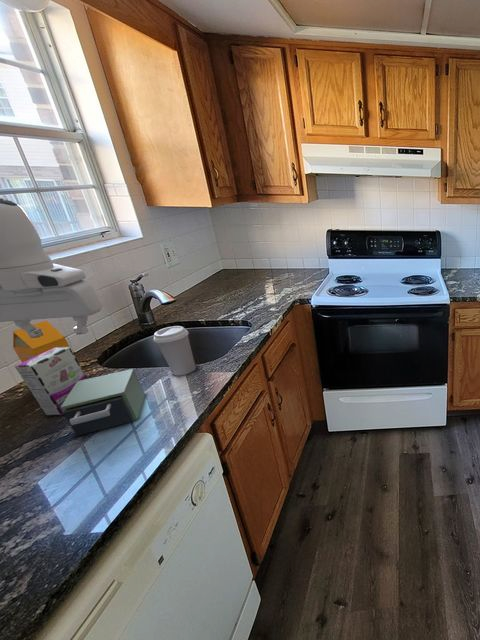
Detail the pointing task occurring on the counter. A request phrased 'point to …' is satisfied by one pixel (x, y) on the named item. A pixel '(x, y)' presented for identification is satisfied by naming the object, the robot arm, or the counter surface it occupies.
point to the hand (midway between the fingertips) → (60, 335)
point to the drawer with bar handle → (98, 415)
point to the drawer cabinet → (108, 391)
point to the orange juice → (37, 341)
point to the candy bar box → (51, 377)
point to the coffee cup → (176, 349)
